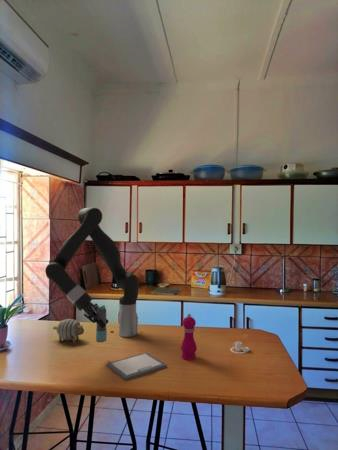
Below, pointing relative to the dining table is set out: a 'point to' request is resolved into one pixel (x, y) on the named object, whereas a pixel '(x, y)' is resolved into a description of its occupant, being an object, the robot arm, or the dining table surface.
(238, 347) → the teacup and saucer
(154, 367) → the grey flat block
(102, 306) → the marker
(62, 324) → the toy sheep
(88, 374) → the dining table surface
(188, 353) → the pepper mill
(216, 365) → the dining table surface
